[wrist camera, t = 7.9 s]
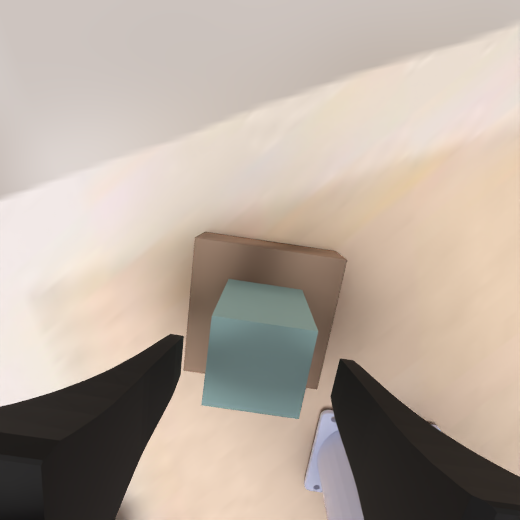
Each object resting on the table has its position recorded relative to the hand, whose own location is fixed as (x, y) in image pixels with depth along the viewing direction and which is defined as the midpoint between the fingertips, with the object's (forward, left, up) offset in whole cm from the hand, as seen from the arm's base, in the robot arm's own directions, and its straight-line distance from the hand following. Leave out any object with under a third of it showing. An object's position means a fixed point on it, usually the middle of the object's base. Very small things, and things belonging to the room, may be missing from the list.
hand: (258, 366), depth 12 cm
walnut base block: (0, 0, -7) cm, 7 cm away
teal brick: (0, 0, -5) cm, 5 cm away
